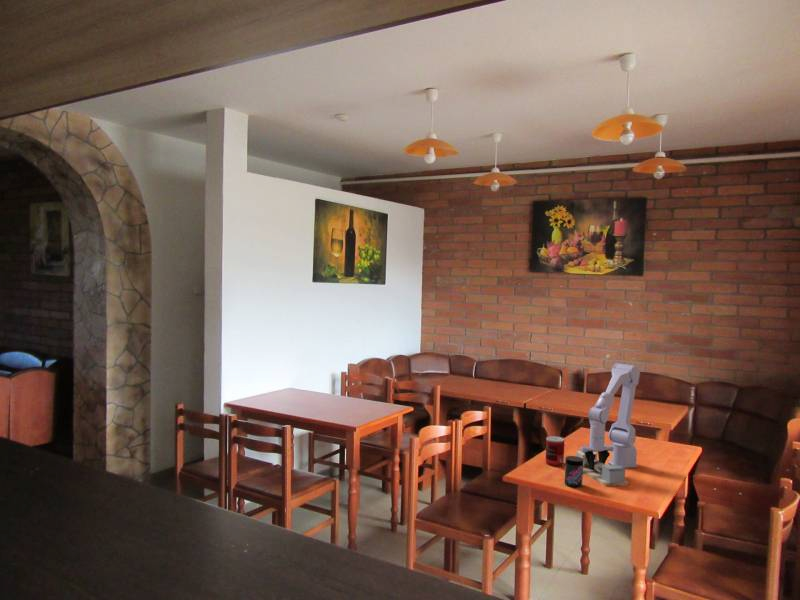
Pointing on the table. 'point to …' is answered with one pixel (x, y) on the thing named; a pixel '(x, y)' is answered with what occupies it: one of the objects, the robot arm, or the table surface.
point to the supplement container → (573, 471)
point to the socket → (613, 473)
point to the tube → (595, 465)
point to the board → (600, 477)
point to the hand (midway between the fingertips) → (596, 468)
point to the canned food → (555, 451)
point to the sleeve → (583, 456)
